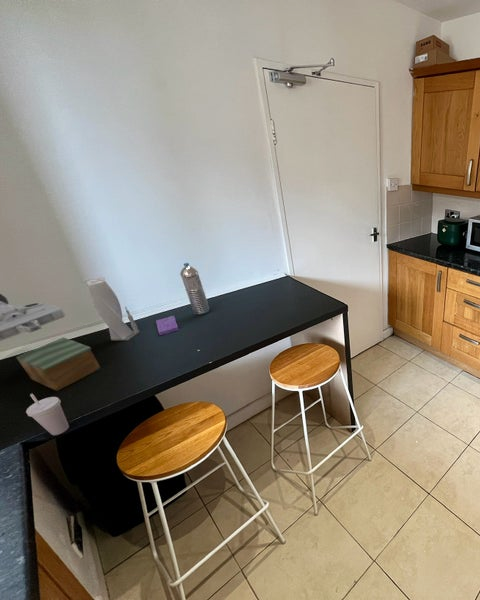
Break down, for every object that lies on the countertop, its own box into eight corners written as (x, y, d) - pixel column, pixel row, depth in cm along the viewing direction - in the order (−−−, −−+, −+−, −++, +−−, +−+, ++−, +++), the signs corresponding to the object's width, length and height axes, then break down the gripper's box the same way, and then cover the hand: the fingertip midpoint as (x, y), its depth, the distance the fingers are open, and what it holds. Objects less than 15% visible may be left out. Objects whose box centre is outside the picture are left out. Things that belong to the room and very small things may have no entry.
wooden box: (100, 368, 114) (90, 348, 110) (56, 391, 103) (42, 370, 99) (75, 358, 119) (64, 339, 115) (31, 379, 108) (17, 359, 104)
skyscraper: (125, 342, 128) (94, 280, 115) (105, 342, 128) (73, 280, 115) (140, 331, 136) (113, 271, 123) (122, 331, 136) (93, 271, 123)
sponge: (175, 318, 145) (173, 315, 144) (179, 330, 137) (177, 326, 136) (157, 323, 141) (155, 320, 140) (159, 335, 133) (158, 332, 132)
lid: (91, 348, 110) (90, 347, 109) (44, 370, 99) (42, 368, 99) (64, 339, 115) (63, 337, 115) (17, 358, 104) (15, 356, 104)
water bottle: (205, 315, 148) (188, 266, 136) (190, 315, 148) (173, 266, 137) (213, 308, 154) (198, 260, 143) (199, 308, 154) (183, 260, 143)
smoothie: (39, 435, 88) (11, 398, 82) (67, 418, 93) (43, 382, 87) (52, 442, 86) (24, 404, 79) (80, 424, 91) (56, 388, 85)
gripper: (-38, 327, 99) (-17, 337, 94) (46, 300, 115) (68, 306, 111) (-26, 344, 101) (-5, 353, 97) (55, 314, 118) (76, 322, 114)
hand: (35, 328), depth 104 cm, fingers closed
